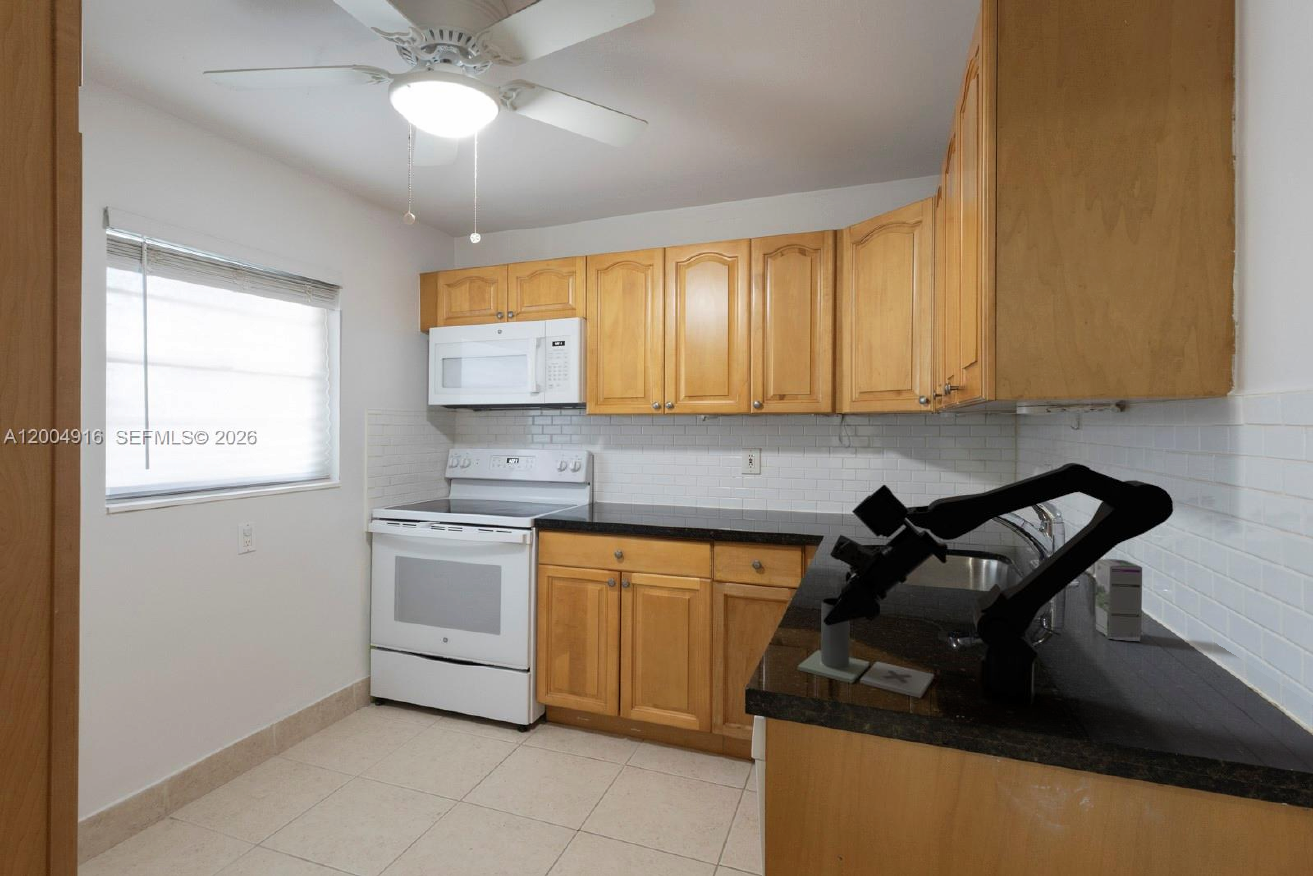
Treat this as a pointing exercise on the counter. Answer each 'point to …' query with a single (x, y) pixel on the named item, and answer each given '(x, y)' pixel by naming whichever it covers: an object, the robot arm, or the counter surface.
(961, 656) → the counter surface
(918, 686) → the pad
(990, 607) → the robot arm
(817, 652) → the pad
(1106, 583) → the syrup box
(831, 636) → the grey cylinder
